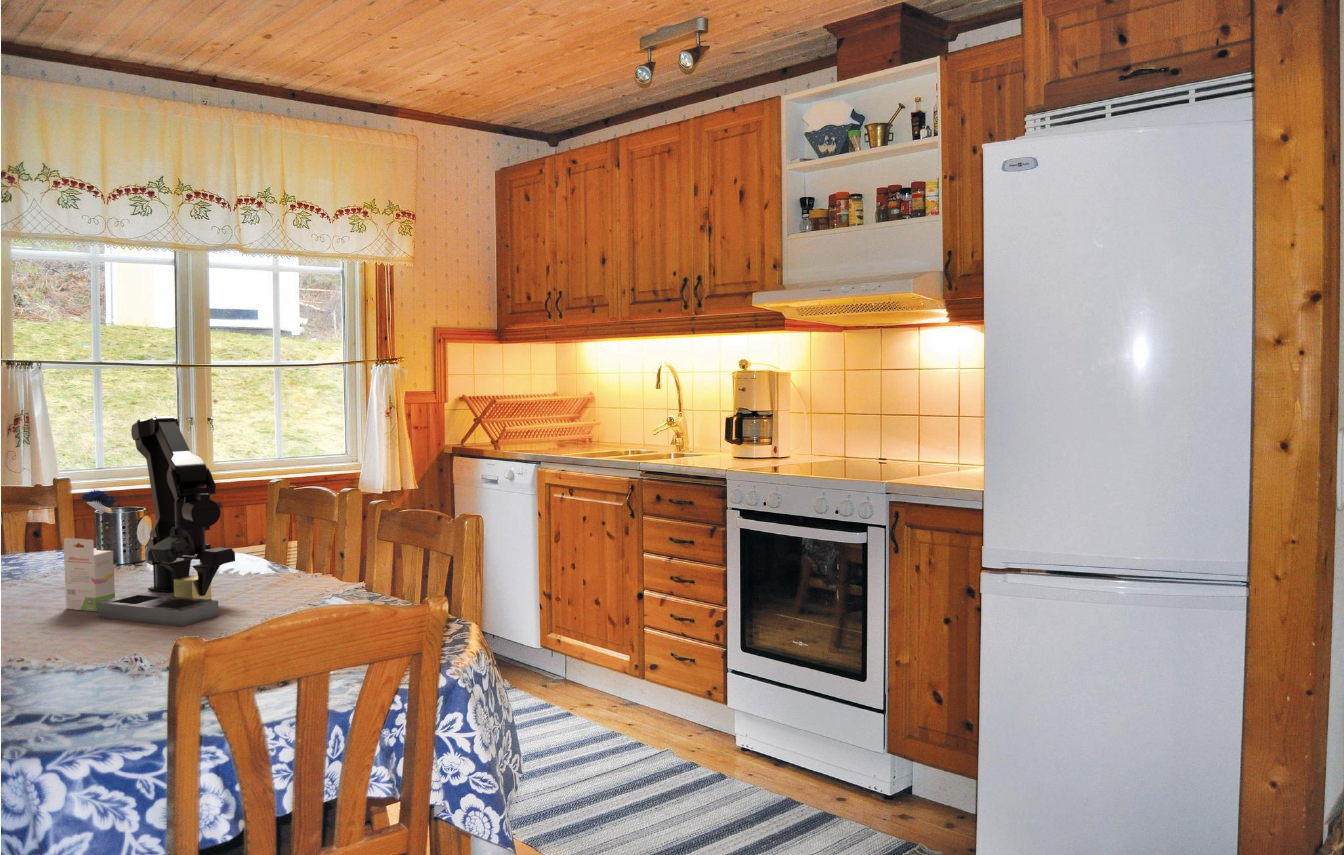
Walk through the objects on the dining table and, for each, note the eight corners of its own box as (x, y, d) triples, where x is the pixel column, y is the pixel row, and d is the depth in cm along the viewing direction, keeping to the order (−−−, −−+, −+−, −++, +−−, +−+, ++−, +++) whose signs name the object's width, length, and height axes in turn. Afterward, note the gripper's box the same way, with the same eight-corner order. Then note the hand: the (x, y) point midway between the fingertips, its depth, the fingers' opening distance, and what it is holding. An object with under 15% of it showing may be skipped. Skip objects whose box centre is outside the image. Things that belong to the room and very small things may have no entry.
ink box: (117, 606, 209) (114, 535, 208) (96, 612, 204) (93, 539, 203) (85, 603, 212) (82, 534, 211) (64, 609, 207) (61, 537, 206)
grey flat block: (97, 617, 200) (97, 602, 200) (136, 607, 208) (135, 592, 208) (182, 626, 192) (181, 611, 192) (218, 615, 200) (218, 600, 200)
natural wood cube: (174, 602, 212) (173, 579, 212) (193, 597, 217) (192, 574, 217) (192, 604, 211) (191, 580, 210) (211, 599, 215) (210, 576, 215)
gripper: (124, 525, 209) (127, 599, 210) (193, 529, 202) (196, 606, 203) (168, 517, 219) (171, 588, 220) (235, 521, 212) (238, 594, 213)
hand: (192, 594), depth 214 cm, fingers open, 5 cm apart
